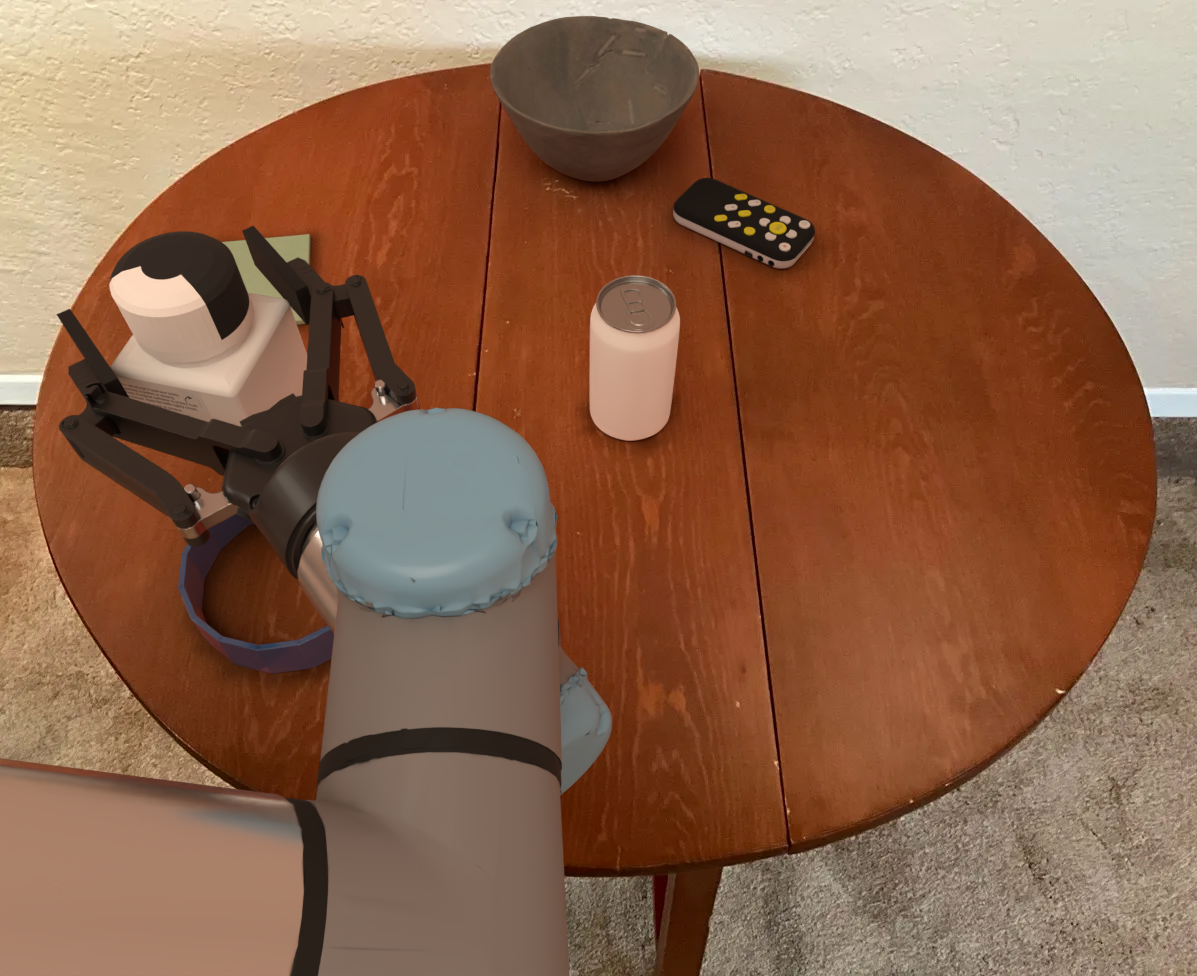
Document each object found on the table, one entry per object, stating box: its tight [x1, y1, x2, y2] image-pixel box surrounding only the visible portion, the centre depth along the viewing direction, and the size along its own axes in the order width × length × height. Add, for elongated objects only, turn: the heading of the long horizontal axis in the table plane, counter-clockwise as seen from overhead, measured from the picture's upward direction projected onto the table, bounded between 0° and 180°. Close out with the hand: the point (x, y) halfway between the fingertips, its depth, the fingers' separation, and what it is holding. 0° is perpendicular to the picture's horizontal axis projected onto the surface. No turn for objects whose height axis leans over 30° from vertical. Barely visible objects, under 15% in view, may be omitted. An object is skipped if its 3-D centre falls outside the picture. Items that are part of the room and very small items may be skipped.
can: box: [589, 274, 681, 442], centre depth 72 cm, size 6×6×12 cm
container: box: [108, 230, 307, 426], centre depth 57 cm, size 8×8×13 cm
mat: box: [221, 233, 312, 326], centre depth 85 cm, size 11×11×1 cm
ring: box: [177, 514, 334, 675], centre depth 67 cm, size 13×13×4 cm
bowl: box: [489, 15, 700, 183], centre depth 91 cm, size 19×19×10 cm
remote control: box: [672, 177, 816, 270], centre depth 89 cm, size 6×13×2 cm, turn 55°
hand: (167, 285), depth 57 cm, fingers closed on container, 10 cm apart
